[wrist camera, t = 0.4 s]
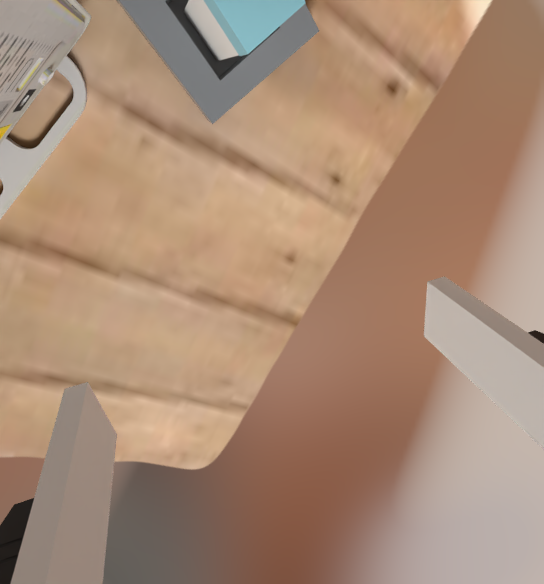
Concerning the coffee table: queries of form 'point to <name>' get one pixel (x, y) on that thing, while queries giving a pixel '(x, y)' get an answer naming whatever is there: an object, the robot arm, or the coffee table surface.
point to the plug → (238, 23)
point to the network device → (35, 80)
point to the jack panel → (200, 61)
